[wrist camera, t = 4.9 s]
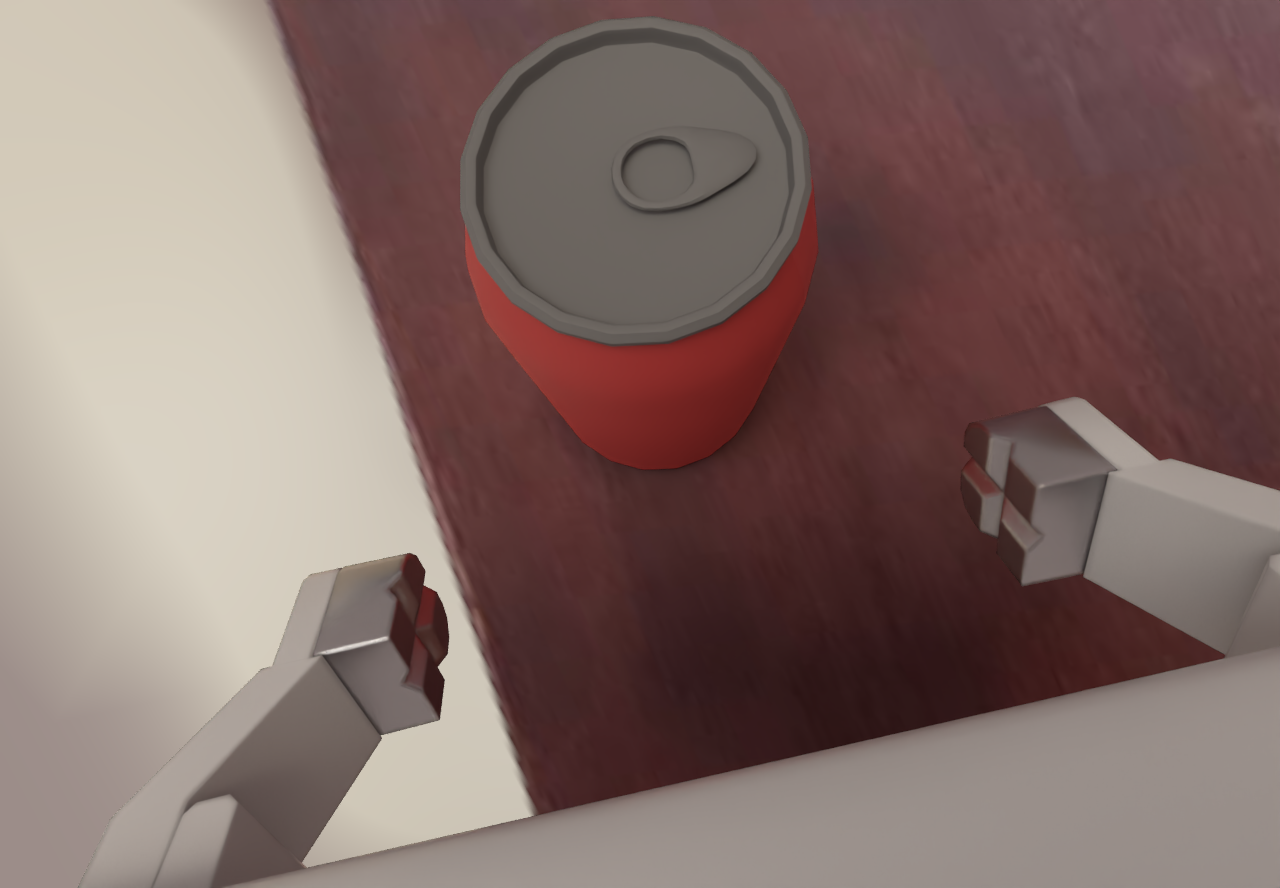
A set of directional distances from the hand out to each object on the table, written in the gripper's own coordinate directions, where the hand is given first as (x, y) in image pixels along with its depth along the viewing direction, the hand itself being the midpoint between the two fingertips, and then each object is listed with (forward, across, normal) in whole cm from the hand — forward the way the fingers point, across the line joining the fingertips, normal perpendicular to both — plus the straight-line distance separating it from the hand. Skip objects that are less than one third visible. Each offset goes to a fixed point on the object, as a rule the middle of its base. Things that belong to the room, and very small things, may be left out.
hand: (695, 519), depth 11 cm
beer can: (+12, 0, +5) cm, 13 cm away
